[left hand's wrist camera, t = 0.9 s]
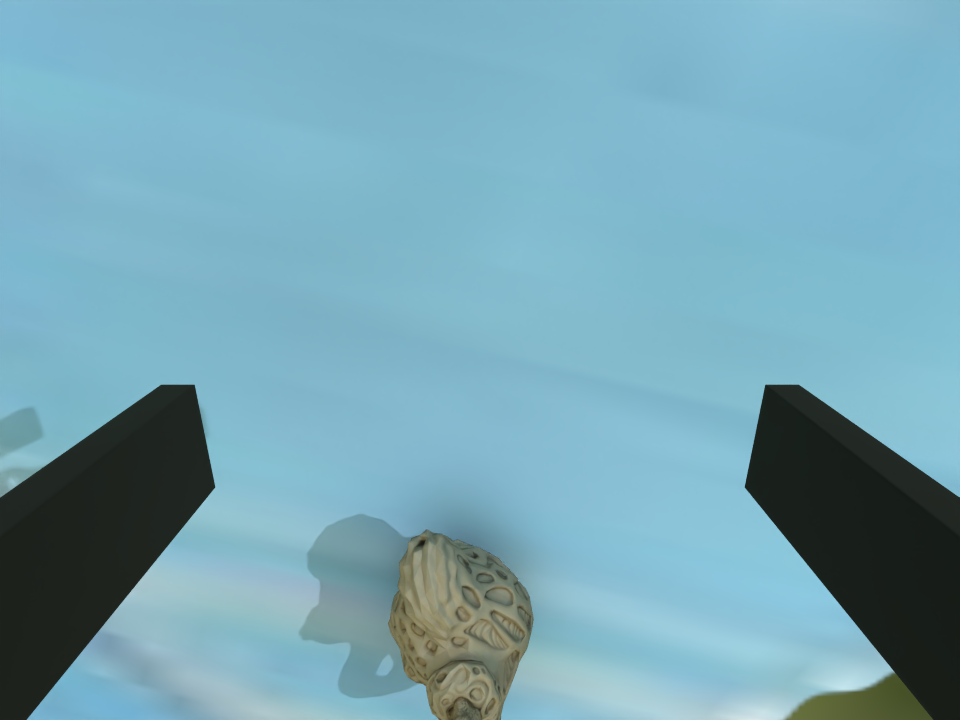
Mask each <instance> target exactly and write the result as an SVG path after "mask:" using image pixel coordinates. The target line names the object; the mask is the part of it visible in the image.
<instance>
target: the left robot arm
mask: <svg viewBox="0 0 960 720" xmlns="http://www.w3.org/2000/svg"><path fill="white" fill-rule="evenodd" d="M214 488H215V484H214V479H213V474H212V469H211V464H210V459H209V454H208V449H207V444H206V439H205V434H204V429H203V424H202V419H201V414H200V409H199V404H198V399H197V394H196V389H195V385H160V386H159V387H157V388H156V389H155V390H153V391H152V392H150V393H149V394H147V395H146V396H145V397H143V398H142V399H140V400H139V401H137V402H136V403H135V404H133V405H132V406H130V407H129V408H127V409H126V410H125V411H123V412H122V413H120V414H119V415H117V416H116V417H115V418H113V419H112V420H110V421H109V422H108V423H106V424H105V425H103V426H102V427H100V428H99V429H98V430H96V431H95V432H93V433H92V434H90V435H89V436H88V437H86V438H85V439H83V440H82V441H80V442H79V443H78V444H76V445H75V446H73V447H72V448H70V449H69V450H68V451H66V452H65V453H63V454H62V455H60V456H59V457H58V458H56V459H55V460H53V461H52V462H51V463H49V464H48V465H46V466H45V467H43V468H42V469H41V470H39V471H38V472H36V473H35V474H33V475H32V476H31V477H29V478H28V479H26V480H25V481H23V482H22V483H21V484H19V485H18V486H16V487H15V488H13V489H12V490H11V491H9V492H8V493H6V494H5V495H3V496H2V497H1V498H0V720H27V719H28V717H29V716H30V715H31V714H32V712H33V711H34V710H35V709H36V707H37V706H38V705H39V704H40V702H41V701H42V700H43V699H44V698H45V696H46V695H47V694H48V693H49V691H50V690H51V689H52V688H53V686H54V685H55V684H56V683H57V682H58V680H59V679H60V678H61V677H62V675H63V674H64V673H65V672H66V670H67V669H68V668H69V667H70V666H71V664H72V663H73V662H74V661H75V659H76V658H77V657H78V656H79V654H80V653H81V652H82V651H83V650H84V648H85V647H86V646H87V645H88V643H89V642H90V641H91V640H92V638H93V637H94V636H95V635H96V634H97V632H98V631H99V630H100V629H101V627H102V626H103V625H104V624H105V622H106V621H107V620H108V619H109V618H110V616H111V615H112V614H113V613H114V611H115V610H116V609H117V608H118V606H119V605H120V604H121V603H122V601H123V600H124V599H125V598H126V597H127V595H128V594H129V593H130V592H131V590H132V589H133V588H134V587H135V585H136V584H137V583H138V582H139V581H140V579H141V578H142V577H143V576H144V574H145V573H146V572H147V571H148V569H149V568H150V567H151V566H152V565H153V563H154V562H155V561H156V560H157V558H158V557H159V556H160V555H161V553H162V552H163V551H164V550H165V549H166V547H167V546H168V545H169V544H170V542H171V541H172V540H173V539H174V537H175V536H176V535H177V534H178V533H179V531H180V530H181V529H182V528H183V526H184V525H185V524H186V523H187V521H188V520H189V519H190V518H191V517H192V515H193V514H194V513H195V512H196V510H197V509H198V508H199V507H200V505H201V504H202V503H203V502H204V500H205V499H206V498H207V497H208V496H209V494H210V493H211V492H212V491H213V489H214ZM745 488H746V489H747V491H748V492H749V493H750V494H751V496H752V497H753V498H754V499H755V500H756V502H757V503H758V504H759V505H760V507H761V508H762V509H763V510H764V512H765V513H766V514H767V515H768V517H769V518H770V519H771V520H772V521H773V523H774V524H775V525H776V526H777V528H778V529H779V530H780V531H781V533H782V534H783V535H784V536H785V537H786V539H787V540H788V541H789V542H790V544H791V545H792V546H793V547H794V549H795V550H796V551H797V552H798V553H799V555H800V556H801V557H802V558H803V560H804V561H805V562H806V563H807V565H808V566H809V567H810V568H811V569H812V571H813V572H814V573H815V574H816V576H817V577H818V578H819V579H820V581H821V582H822V583H823V584H824V585H825V587H826V588H827V589H828V590H829V592H830V593H831V594H832V595H833V597H834V598H835V599H836V600H837V601H838V603H839V604H840V605H841V606H842V608H843V609H844V610H845V611H846V613H847V614H848V615H849V616H850V618H851V619H852V620H853V621H854V622H855V624H856V625H857V626H858V627H859V629H860V630H861V631H862V632H863V634H864V635H865V636H866V637H867V638H868V640H869V641H870V642H871V643H872V645H873V646H874V647H875V648H876V650H877V651H878V652H879V653H880V654H881V656H882V657H883V658H884V659H885V661H886V662H887V663H888V664H889V666H890V667H891V668H892V669H893V670H894V672H895V673H896V674H897V675H898V677H899V678H900V679H901V680H902V682H903V683H904V684H905V685H906V686H907V688H908V689H909V690H910V691H911V693H912V694H913V695H914V696H915V697H916V699H917V700H918V701H919V702H920V704H921V705H922V706H923V707H924V709H925V710H926V711H927V712H928V714H929V715H930V716H931V717H932V719H933V720H960V497H958V496H957V495H955V494H954V493H952V492H951V491H949V490H948V489H947V488H945V487H944V486H942V485H941V484H939V483H938V482H937V481H935V480H934V479H932V478H931V477H929V476H928V475H927V474H925V473H924V472H922V471H921V470H919V469H918V468H917V467H915V466H914V465H912V464H911V463H909V462H908V461H907V460H905V459H904V458H902V457H901V456H900V455H898V454H897V453H895V452H894V451H892V450H891V449H890V448H888V447H887V446H885V445H884V444H882V443H881V442H880V441H878V440H877V439H875V438H874V437H872V436H871V435H870V434H868V433H867V432H865V431H864V430H862V429H861V428H860V427H858V426H857V425H855V424H854V423H852V422H851V421H850V420H848V419H847V418H845V417H844V416H843V415H841V414H840V413H838V412H837V411H835V410H834V409H833V408H831V407H830V406H828V405H827V404H825V403H824V402H823V401H821V400H820V399H818V398H817V397H815V396H814V395H813V394H811V393H810V392H808V391H807V390H805V389H804V388H803V387H801V386H800V385H765V389H764V394H763V399H762V404H761V409H760V414H759V419H758V424H757V429H756V434H755V439H754V444H753V449H752V454H751V459H750V464H749V469H748V474H747V479H746V484H745Z"/></svg>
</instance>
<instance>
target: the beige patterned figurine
mask: <svg viewBox="0 0 960 720" xmlns="http://www.w3.org/2000/svg"><path fill="white" fill-rule="evenodd" d="M399 569H400V578H399V582H398V588H399V591H398V592H397V593H396V595H395V596H394V599H393V603H392V609H391V616H390V620H389V622H388V624H389V628H390V631H391V634H392V636H393V638H394V639H395V641H396V643H397V644H398V646H399V648H400V651H401V656H402V661H403V667H404V671H405V673H406V675H407V676H408V677H409V678H410V679H411V680H413V681H415V682H416V683H421V684H424V685H425V686H426V690H427V697H428V701H429V706H430V709H431V711H432V714H433V715H435V716H436V717H437V718H438V719H439V720H501V712H502V708H503V704H504V701H505V699H506V696H507V694H508V691H509V689H510V686H511V684H512V681H513V678H514V676H515V673H516V671H517V667H518V664H519V661H520V660H521V658H522V656H523V655H524V653H525V651H526V649H527V647H528V643H529V639H530V636H531V631H532V625H533V620H534V619H533V614H532V608H531V602H530V597H529V595H528V593H527V590H526V589H525V588H524V587H523V585H522V584H521V583H520V582H517V581H518V578H517V577H516V576H515V575H514V574H513V573H512V572H511V571H510V569H509V568H507V567H506V566H505V565H504V564H503V563H502V562H501V560H500V559H499V558H497V557H495V556H494V555H492V554H490V553H488V552H486V551H484V550H482V549H481V548H479V547H475V546H472V545H469V544H466V543H464V542H462V541H460V540H455V541H452V540H451V539H450V538H448V537H447V536H445V535H442V534H437V533H433V532H431V531H429V530H426V531H424V532H423V533H422V534H421V535H419V536H416V537H414V538H412V539H411V541H410V542H408V549H407V552H406V554H405V555H404V557H403V558H402V560H401V561H400V563H399Z"/></svg>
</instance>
